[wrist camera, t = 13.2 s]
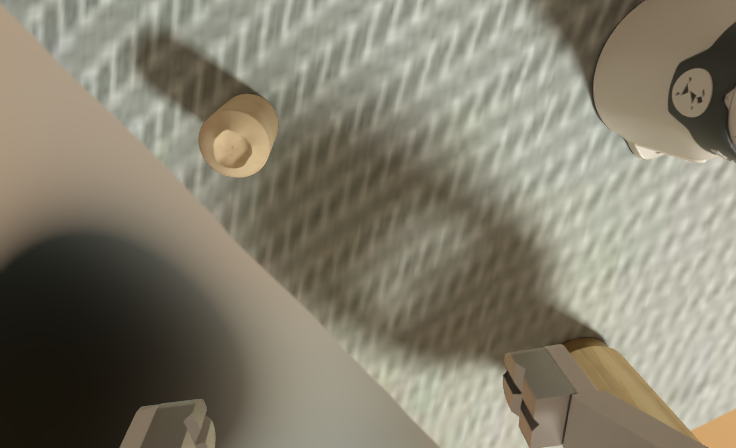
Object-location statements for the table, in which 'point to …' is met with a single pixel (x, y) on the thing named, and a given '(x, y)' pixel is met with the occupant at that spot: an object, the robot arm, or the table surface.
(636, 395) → the lamp
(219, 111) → the candle
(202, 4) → the table surface
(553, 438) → the robot arm
